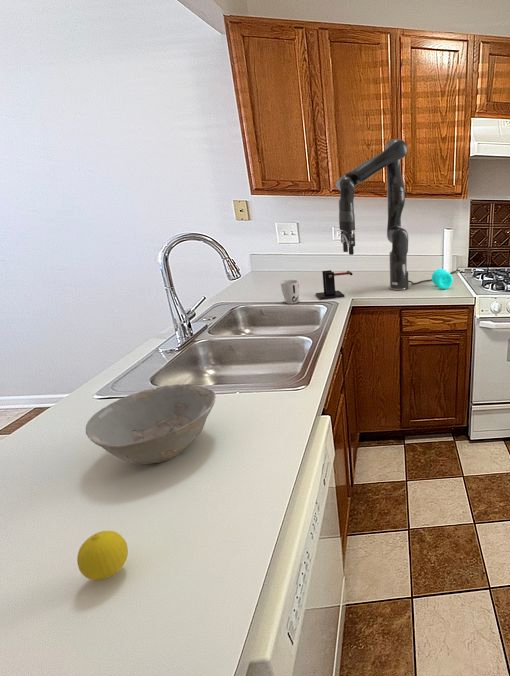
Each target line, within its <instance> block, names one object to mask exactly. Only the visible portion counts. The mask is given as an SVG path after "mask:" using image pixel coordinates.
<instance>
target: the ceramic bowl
mask: <svg viewBox="0 0 510 676" xmlns="http://www.w3.org/2000/svg"><path fill="white" fill-rule="evenodd" d="M215 402H216V392H214V390H213V389H209V387H204V386H203V385H199V384H190V383H186V384H184V383H183V384H172V385H171V384H170V385H164V386H163V385H162V386H158V387H156V388H155V389H154V388H150V389H145V390H142V391H139V392H136V393H131V394H129V395H127V396H124V397H122V398H119V399H117V400H116V401H113V402H111V403H109V404H108V405H107V406H104V407H103V408H101V409H100V410H98V411H97V412H95V413H94V414H93V415H92V416H91V417H90V418H89V419H88V420H87V422H86V424H85V435H86V436H87V438H88V439H89V440H90V441H91V442H92V443H94V444H95V445H97V446H98V447H101V449H103V450H105V452H107V453H109V454H111V455H112V456H113V457H115V458H116V459H120V460H122V461H126V462H128V463H129V462H130V463H134V464H141V465H149V464H156V463H163V462H168V461H169V460H171V459H174V458H175V457H176V456H178V455H179V454H180V453H181V452H182V451H183V450H185V449H186V448H187V447H188V446H189V445H191V443H192V442H193V441H194V440H195V439H196V438H197V437H198V436H199V435H200V434H201V433H202V431H203V430H204V427H205V424H206V422H207V419H208V417H209V415H210V413H211V411H212V409H213V407H214V405H215V404H216V403H215Z"/></svg>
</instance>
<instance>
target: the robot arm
mask: <svg viewBox="0 0 510 676" xmlns="http://www.w3.org/2000/svg"><path fill="white" fill-rule="evenodd" d="M407 154H408V144H407V143H406V142H405V141H404V140H403V139H400V138H393V139H390V140H388V141H387V142H386V143H385V145H384V150H383V151H382V152H379V153H378V154H377V155H375V156H373V157H371V158H369V159H366V160H365V161H363V162H361V163H360V164H359V165H357V166H355V168H353V169H351V170H350V171H348V172H346V173H344V174H342V175H341V176H340V177H338V178H337V180H336V182H335V186H336V188H337V190H338V191H339V193H340V195H339V199H338V225H339V230H340V243H342V250H343V251H342V252H343V253H348V255H349V256H353V255H354V252H355V251H354V250H355V249H354V247H356V236H355V235H356V234H355V233H353V231H355V230H356V219H355V218H356V216H355V205H354V204H355V203H354V200H355V192H356V190H355V188H356V186H357V185H358V184H361V183H364V182H366V181H367V180H368V179H370V178H371V177H372V176H374V175H375V174H377V173H379V172H380V171H381V170H382V169H384V168H385V167H386V201H387V202H386V203H387V226H386V238H387V240H388V242H389V243H391V251H390V252H389V256H388V257H389V289H390V290H392V291H405V290H408V289H409V283H410V284H411V285H418V284H420V283H425V282H433V281H432V278H431V279H424V280H420V281H417V282H414V281H412V280H409V271H408V261H407V260H408V259H407V256H408V252H409V234H408V231H407V230H406V228H403V227H402V215H403V214H402V213H403V211H404V208H405V203H406V187H405V182H404V178H403V174H402V170H401V160H402V159H404V158H405V157H406V156H407ZM460 270H461V269H457V270H453V271H451V272H449V273H450V274H451V275H452V274H454V273H457V272H461V273H464V271H463V270H462V271H460Z"/></svg>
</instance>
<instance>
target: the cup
mask: <svg viewBox="0 0 510 676" xmlns="http://www.w3.org/2000/svg"><path fill="white" fill-rule="evenodd" d="M280 288H281V293H282V295H283V298H284V301H285V303H286V304H289V305H290V304H292V305H293V304H297V303H298V302H299V297H300V281H299V280H297V279H286V280H282V281H280Z"/></svg>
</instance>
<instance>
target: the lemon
mask: <svg viewBox="0 0 510 676" xmlns="http://www.w3.org/2000/svg"><path fill="white" fill-rule="evenodd" d="M128 549H129V547H128V543H127V542H126V539H125V538H124V537H123V535H121V534H120V532H119V533H118V532H116V531H114V530H102V531H99V532H96V533H94V534H92V535H91V536H89V537H88V538H86V540H85V541H84V542H83V543H82V544H81V545H80V547H79V549H78V552H77V557H76V560H77V561H76V562H77V566H78V567H77V568H78V570H79V572H80V573H81V575H82V576H84V577H85V578H86V579H88V580H92V581H101V580H105V579H108V578H110V577H112V576H114V575H115V574H117V573H118V572H119V571H120V570H121V569H122V568H123V566H124V565H125V563H126V562H127V558H128V555H129V550H128Z"/></svg>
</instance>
